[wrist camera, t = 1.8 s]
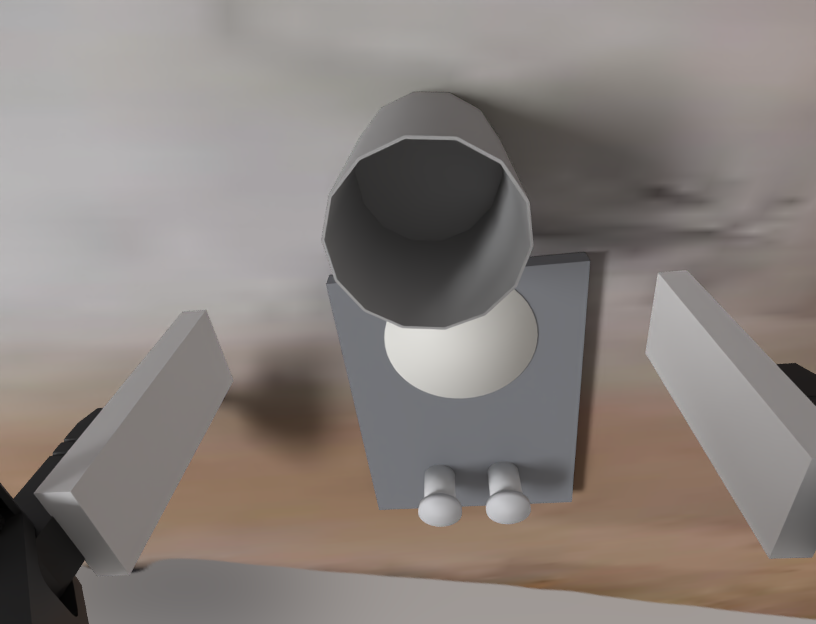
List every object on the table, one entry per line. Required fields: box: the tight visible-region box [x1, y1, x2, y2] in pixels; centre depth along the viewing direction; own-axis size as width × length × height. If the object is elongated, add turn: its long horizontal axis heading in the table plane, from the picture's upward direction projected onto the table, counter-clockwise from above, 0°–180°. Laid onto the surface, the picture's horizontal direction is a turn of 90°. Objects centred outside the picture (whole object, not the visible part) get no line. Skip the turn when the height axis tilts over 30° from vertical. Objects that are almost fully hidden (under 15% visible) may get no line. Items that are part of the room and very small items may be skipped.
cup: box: [321, 92, 534, 330], centre depth 24 cm, size 8×8×10 cm
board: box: [326, 252, 590, 527], centre depth 35 cm, size 22×16×5 cm
